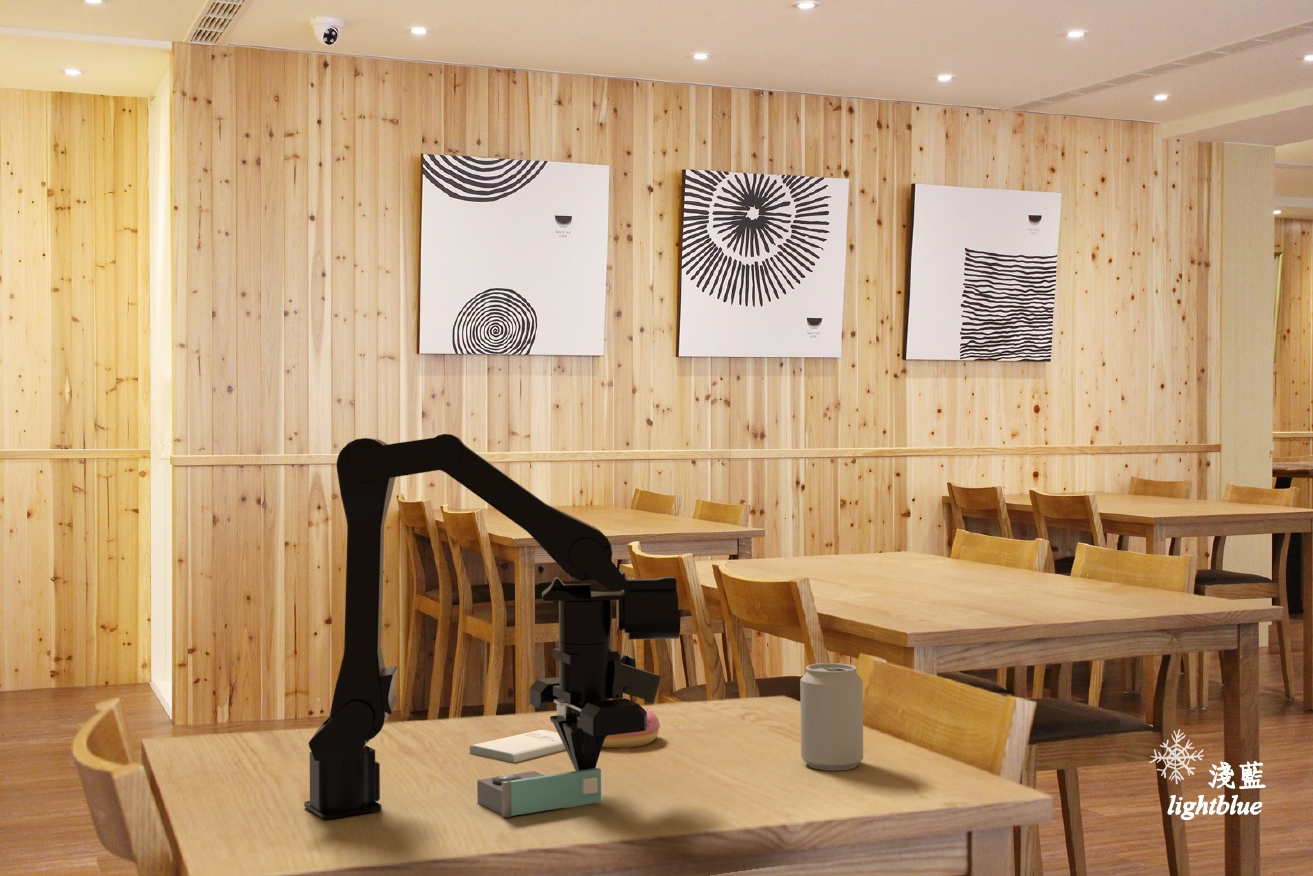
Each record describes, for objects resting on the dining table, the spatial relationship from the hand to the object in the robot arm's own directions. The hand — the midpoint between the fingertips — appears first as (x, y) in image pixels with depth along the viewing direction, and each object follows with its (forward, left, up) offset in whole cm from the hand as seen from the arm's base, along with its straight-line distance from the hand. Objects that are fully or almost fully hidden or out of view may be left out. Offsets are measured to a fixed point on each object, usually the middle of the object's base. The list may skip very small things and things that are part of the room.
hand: (586, 783), depth 146 cm
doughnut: (+19, +23, -2) cm, 30 cm away
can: (+33, -3, -2) cm, 33 cm away
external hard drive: (+7, +26, -3) cm, 27 cm away
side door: (-5, -1, -2) cm, 5 cm away
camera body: (-7, +3, -2) cm, 8 cm away
